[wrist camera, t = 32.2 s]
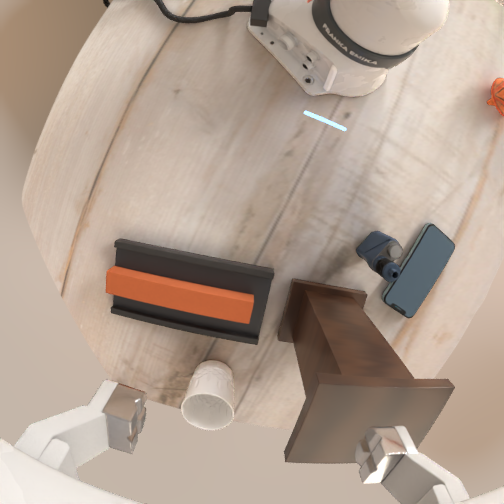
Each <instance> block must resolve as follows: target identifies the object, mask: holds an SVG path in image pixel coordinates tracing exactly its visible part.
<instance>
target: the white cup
mask: <svg viewBox="0 0 504 504" xmlns="http://www.w3.org/2000/svg"><path fill="white" fill-rule="evenodd" d="M181 413H182V415H183V417H184V418H185V420H186V421H187V422H188V423H190V424H191V425H193V426H195V427H197V428H199V429H203V430H219V429H222V428H225V427H227V426H228V425H229V424H230V423H231V422H232V420H233V418H234V376H233V373H232V370H231V369H230V368H229V367H228V366H227V365H226V364H225V363H222V362H220V361H217V360H208V361H205V362H202V363H200V364H199V365H198V367H197V368H196V369H195V372H194V375H193V377H192V378H191V381H190V383H189V386H188V388H187V391H186V394H185V396H184V399H183V402H182V405H181Z"/></svg>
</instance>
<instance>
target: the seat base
mask: <svg viewBox="0 0 504 504" xmlns="http://www.w3.org/2000/svg"><path fill="white" fill-rule="evenodd" d="M114 247H116V248H117V250H116V263H115V266H118V267H122V268H127V269H131V270H136V271H140V272H144V273H149V274H153V275H158V276H163V277H167V278H172V279H177V280H181V281H186V282H191V283H196V284H201V285H206V286H211V287H216V288H221V289H226V290H231V291H236V292H241V293H247V294H252V295H254V304H253V308H252V313H251V317H250V322H249V324H246V323H240V322H235V321H230V320H224V319H219V318H214V317H209V316H204V315H199V314H194V313H190V312H185V311H180V310H176V309H171V308H167V307H162V306H158V305H154V304H150V303H145V302H141V301H137V300H133V299H129V298H125V297H121V296H117V295H114V300H113V306H112V307H111V313H113V314H117V315H121V316H124V317H128V318H132V319H136V320H140V321H144V322H148V323H152V324H156V325H161V326H165V327H169V328H174V329H178V330H183V331H187V332H192V333H197V334H201V335H206V336H211V337H216V338H222V339H227V340H232V341H238V342H243V343H249V344H255V345H257V344H258V340H259V338H258V337H259V332H260V328H261V324H262V320H263V316H264V311H265V307H266V303H267V299H268V294H269V290H270V286H271V281H272V279H273V277H274V269H271V268H266V267H261V266H256V265H251V264H245V263H240V262H235V261H230V260H225V259H220V258H215V257H210V256H204V255H199V254H194V253H189V252H184V251H179V250H174V249H169V248H164V247H159V246H154V245H149V244H145V243H140V242H135V241H130V240H125V239H118V240H116V241H115V245H114Z"/></svg>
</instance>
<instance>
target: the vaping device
mask: <svg viewBox="0 0 504 504" xmlns="http://www.w3.org/2000/svg"><path fill="white" fill-rule="evenodd" d="M356 252H357V254H358V256H359V257H361V258H362V259H364V260H365V261H366V262H367V263H368V265H369V267H370V268H371V269H372V270H374V271H375V272H376V273H378V274H379V275H380V276H382V277H383V278H384V279H385V280H386V281H388V282H393V281H395V280H397V279H398V277H399V276H400V267H399V266H398V265H397V264H395V263H394V262H393V261H394V260H395V259H398V258H400V257H401V256H402V253H403V249H402V247H401V246H400V244H399V242H398V241H397V240H396V239H394V238H392V237H390V236H388V235H386V234H384V233H381V232H379V231H375V232H372V233H371V234H370V235H369V236H368V237H367V238H366V239H365V240H364V241H363V242H362V243H361V244H360V246H359V247H358V248H357V249H356Z"/></svg>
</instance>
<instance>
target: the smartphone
mask: <svg viewBox="0 0 504 504" xmlns="http://www.w3.org/2000/svg"><path fill="white" fill-rule="evenodd" d="M454 249H455V244H454V243H453V242H452V241H451V240H450V239H449V238H448V237H447V236H446V235H445V234H444V233H443V232H442V231H440V230H439V229H438V228H437V227H436V226H435V225H434V224H431V223H428V224H426V225H425V227H424V228H423V230H422V232H421V234H420V235H419V237H418V239H417V240H416V242H415V244H414V246H413V247H412V249H411V251H410V252H409V254H408V256H407V257H406V259H405V260H404V262H403V264H402V265H401V267H400V276H399V277H398V279H397V280H395V281H393V282H390V284H389V285H388V287H387V289H386V290H385V292H384V293H383V295H382V301H383V302H384V303H385V304H387V305H388V306H390V307H391V308H393V309H394V310H396V311H397V312H399V313H400V314H402V315H404V316H405V317H407V318H411V317H413V316H414V314H415V313H416V312H417V310H418V309H419V307H420V306H421V304H422V303H423V301H424V299H425V298H426V296H427V295H428V293H429V292H430V290H431V289H432V287H433V285H434V284H435V282H436V280H437V279H438V277H439V276H440V274H441V272H442V270H443V269H444V267H445V265H446V264H447V262H448V260H449V258H450V257H451V255H452V253H453V251H454Z"/></svg>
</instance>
